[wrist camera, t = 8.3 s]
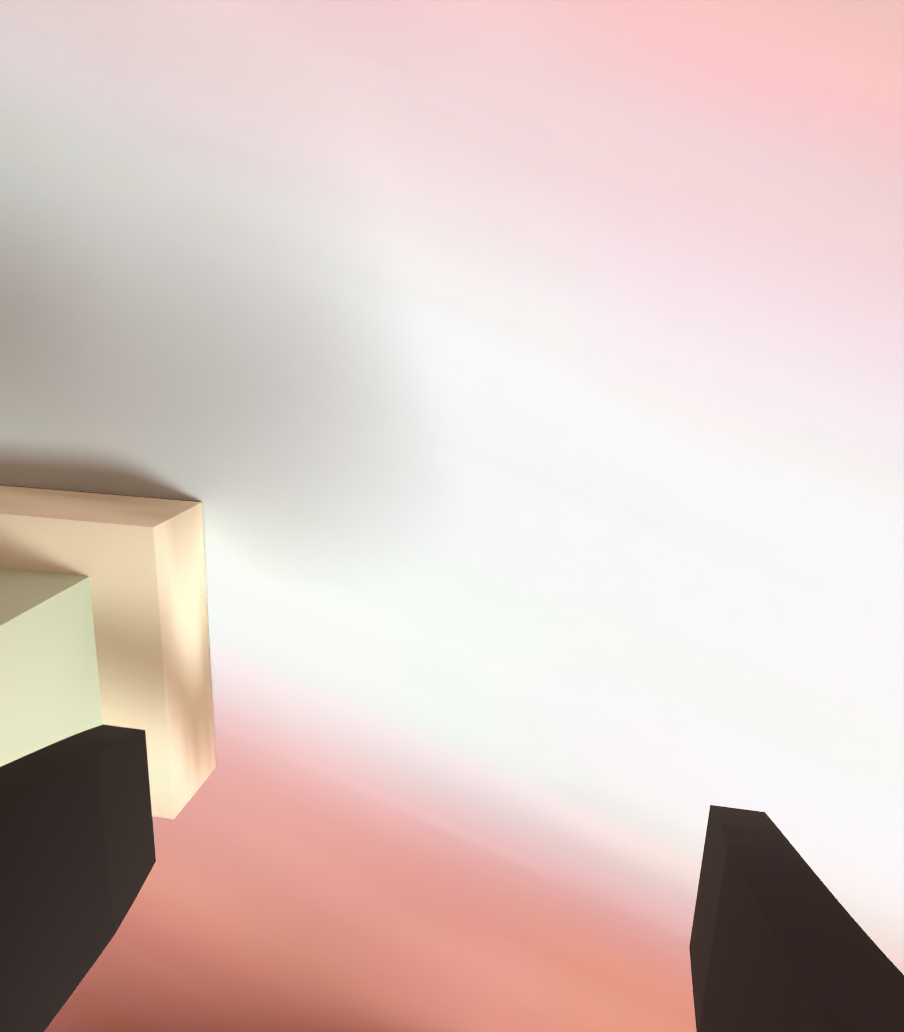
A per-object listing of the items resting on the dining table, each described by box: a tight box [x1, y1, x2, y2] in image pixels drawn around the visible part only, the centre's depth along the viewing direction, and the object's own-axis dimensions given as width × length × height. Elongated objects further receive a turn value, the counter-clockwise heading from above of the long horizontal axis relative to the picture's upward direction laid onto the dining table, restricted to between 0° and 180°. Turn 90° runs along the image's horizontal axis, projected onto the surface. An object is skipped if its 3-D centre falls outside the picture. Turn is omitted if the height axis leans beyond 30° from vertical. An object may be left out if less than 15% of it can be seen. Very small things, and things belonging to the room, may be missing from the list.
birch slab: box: [0, 485, 216, 819], centre depth 21 cm, size 8×8×2 cm
